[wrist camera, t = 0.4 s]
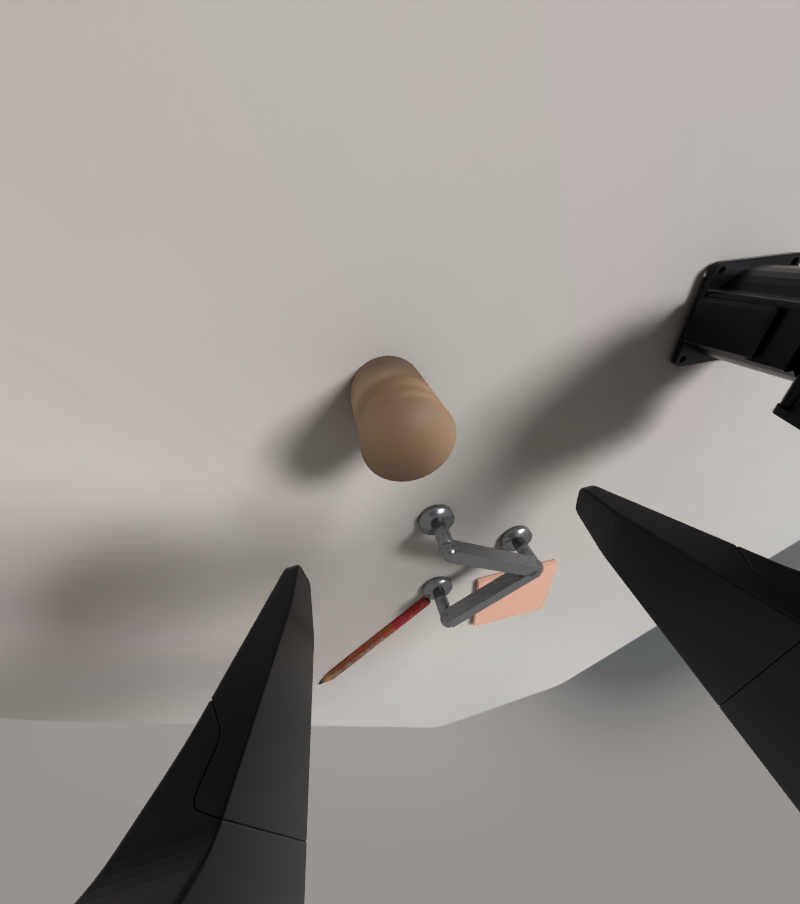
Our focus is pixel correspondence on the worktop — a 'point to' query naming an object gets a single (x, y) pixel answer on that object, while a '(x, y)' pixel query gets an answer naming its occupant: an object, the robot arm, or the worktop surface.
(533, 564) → the dark grey bent piece
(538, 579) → the terracotta mat
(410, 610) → the pencil
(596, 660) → the worktop surface
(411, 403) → the wooden dowel cylinder
